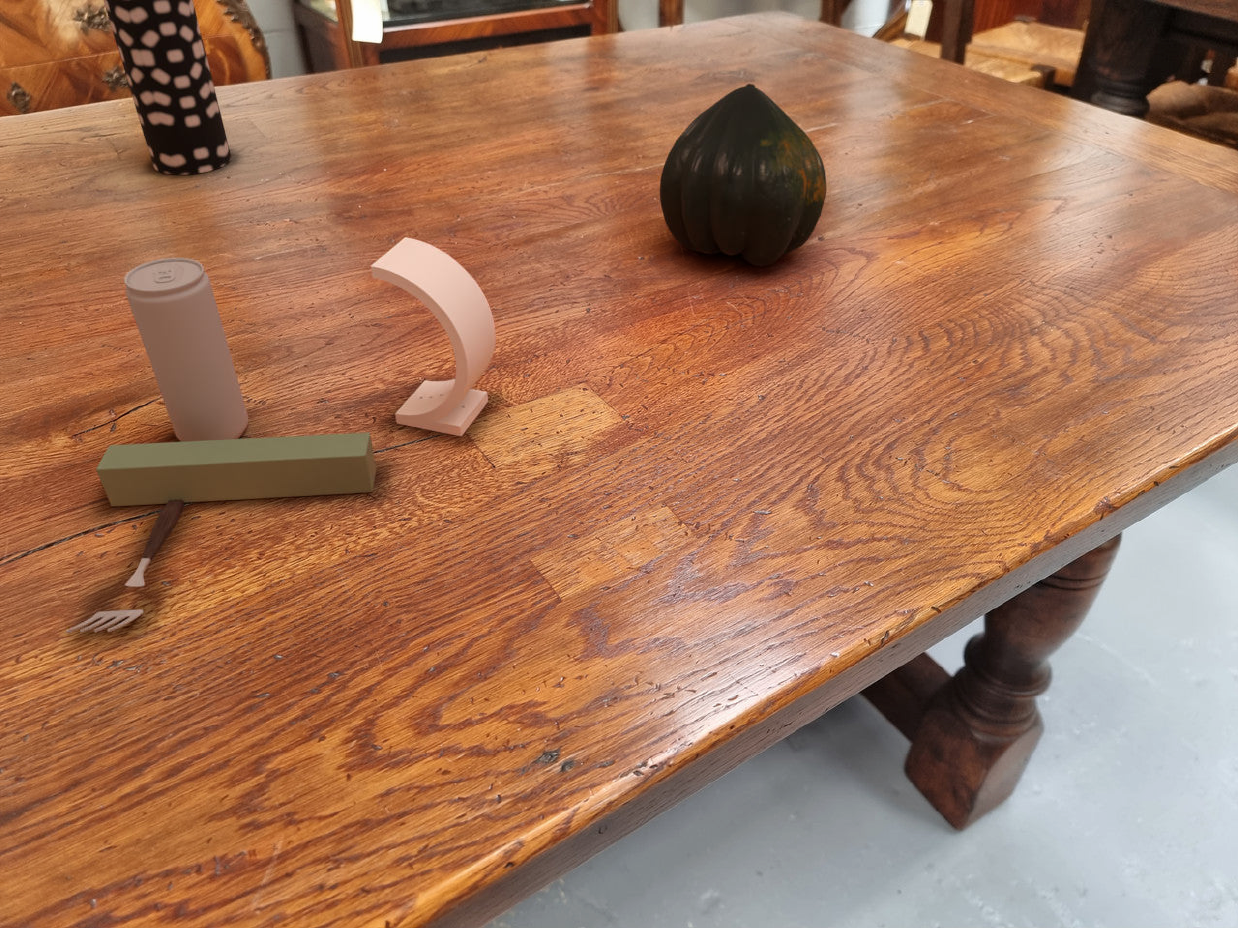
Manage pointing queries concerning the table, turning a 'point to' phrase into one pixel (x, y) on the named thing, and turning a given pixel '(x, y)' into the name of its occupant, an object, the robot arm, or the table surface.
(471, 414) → the headphone stand
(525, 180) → the table surface
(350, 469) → the rail
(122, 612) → the fork
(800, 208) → the squash
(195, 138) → the spotted tube
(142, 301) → the beverage can
